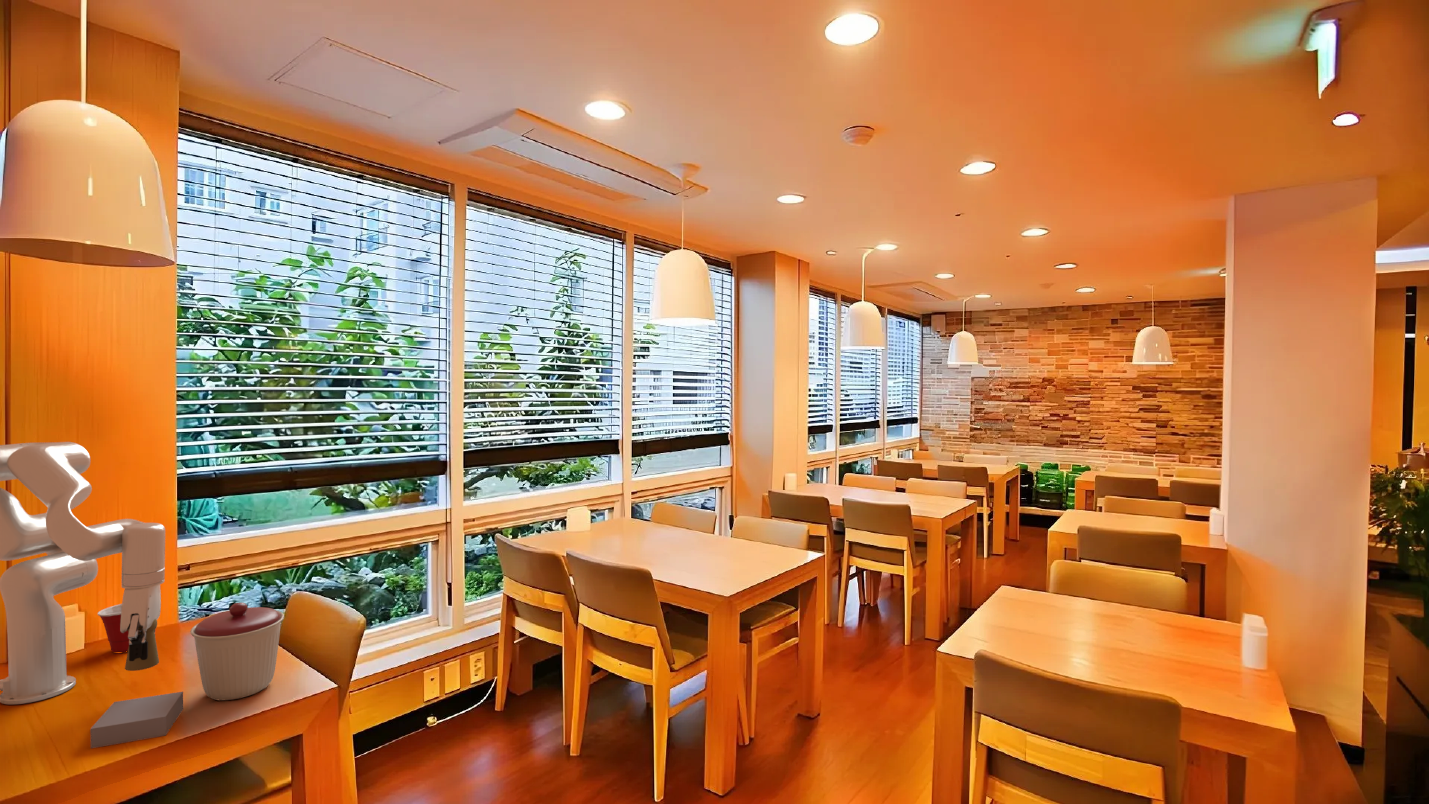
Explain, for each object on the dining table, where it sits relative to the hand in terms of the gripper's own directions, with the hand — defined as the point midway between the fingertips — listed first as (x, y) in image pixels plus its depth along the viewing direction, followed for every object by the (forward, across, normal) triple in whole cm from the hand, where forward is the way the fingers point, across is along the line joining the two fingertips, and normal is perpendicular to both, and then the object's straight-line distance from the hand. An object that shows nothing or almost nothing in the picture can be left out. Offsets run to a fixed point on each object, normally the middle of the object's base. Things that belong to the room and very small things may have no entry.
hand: (142, 655), depth 153 cm
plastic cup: (+12, -36, -14) cm, 41 cm away
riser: (+10, +16, +4) cm, 19 cm away
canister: (+10, +4, +20) cm, 22 cm away
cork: (+3, 0, 0) cm, 3 cm away
